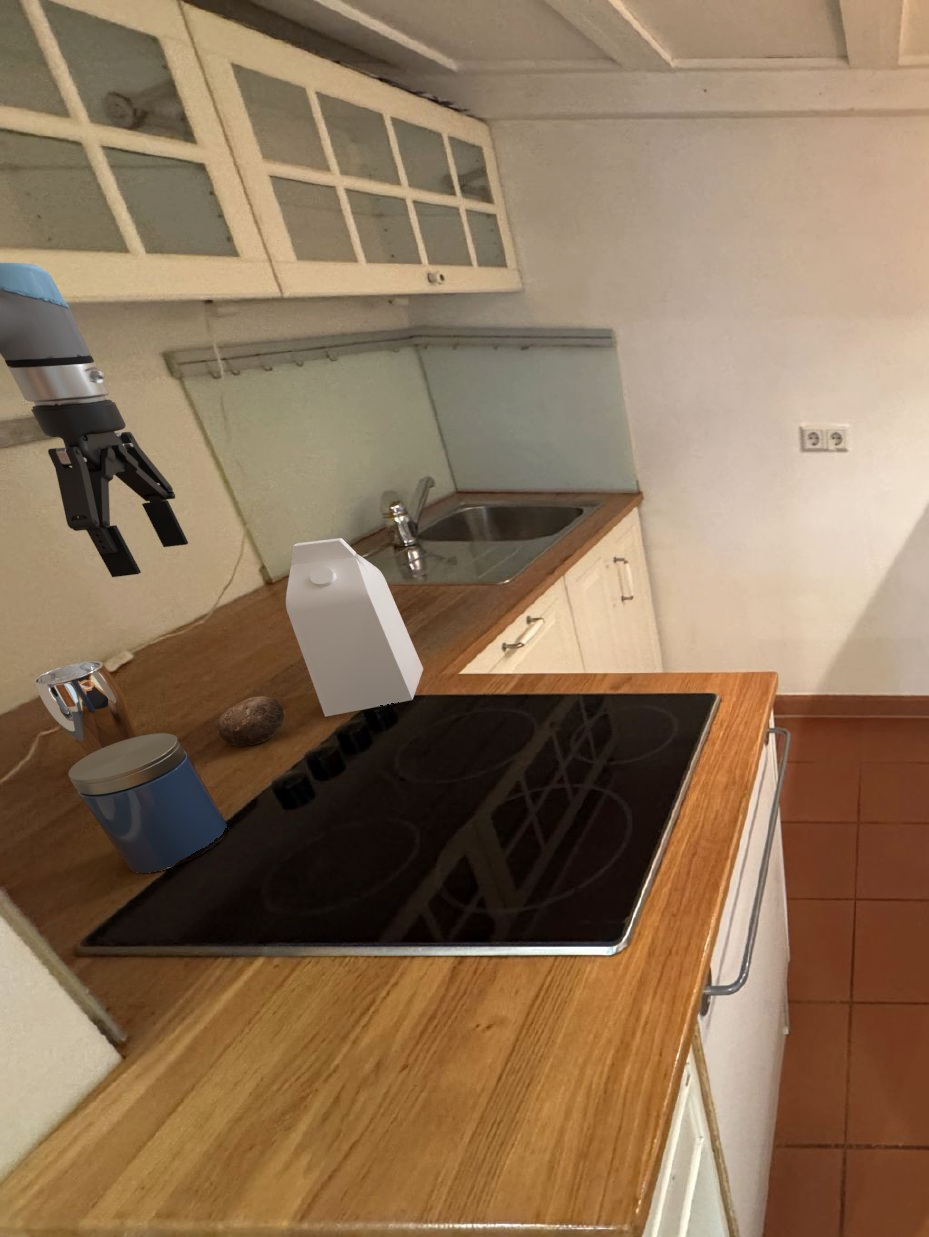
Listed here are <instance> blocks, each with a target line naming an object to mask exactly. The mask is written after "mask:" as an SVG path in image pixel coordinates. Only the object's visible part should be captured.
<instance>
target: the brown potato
mask: <svg viewBox="0 0 929 1237" xmlns="http://www.w3.org/2000/svg"><path fill="white" fill-rule="evenodd" d="M284 718H285V714H284V710H283V706H282V705H281V704H280V703H279V701H278V700H276V699H275V698H273V697H269V696H266V695H260V696H252V697H249V698H247V699H244V700H242V701H240V702H238V703H236V704H234V705H232V706H230V707H229V708H227V709H226V710H225V711H224V712H223V713H222V714H221V715H220V716H219V719H218V722H217V725H216V729H217V731H218V735H219V737H220V738H221V739H223V741H224V742H226V743H227V744H229V745H233V746H238V747H249V746H254V745H257V744H261V743H264V742H266V741H268V740H269V739H270V738H271V739H272V737H274V736H275V735H276V734H277V733H278V732H279V730H280V729H281V728H282V726H283V722H284Z"/></svg>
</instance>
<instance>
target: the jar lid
mask: <svg viewBox="0 0 929 1237" xmlns="http://www.w3.org/2000/svg"><path fill="white" fill-rule="evenodd" d="M184 751H185V749H184V747H183V746H182V744H181V743H180V740H179V739H178V737H177V736H176V735H174V734H172V733H165V732H163V733H160V732H159V733H150V734H144V735H143V734H142V735H138V737H134V738H130V739H127V740H124V741H120V742H117V743H115V744H112V745H109V746H107V747H104V748H102V749H100V750H98V751H95V752H93V753H91V754H90V755H88V754H87V755H86V756H84V757H82V758H81V759H80V760H78V761H77V762H76V763H74V764H73V765H72V766H71V767H70V769H69V770H68V772H67V774H68V777H69V781H70V782H71V783H72V785H73V786H74V788H75V789H76V790H77V792H78V791H79V792H81V793H83V794H88V795H99V794H107V793H112V792H117V791H121V790H125V789H128V788H131V787H134V786H137V785H140V784H142V783H145V782H147V781H150V780H152V779H154V778H156V777H158V776H160V775H162V774H164V773H166V772H167V771H169V770H171V769H172V768H173V767H175V766H176V765H177V764H179V763H180V762H181V760H182V759H183V758H184V755H185V752H186V751H185V752H184Z"/></svg>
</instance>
